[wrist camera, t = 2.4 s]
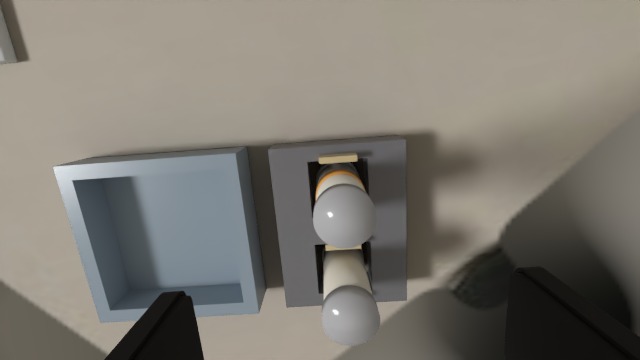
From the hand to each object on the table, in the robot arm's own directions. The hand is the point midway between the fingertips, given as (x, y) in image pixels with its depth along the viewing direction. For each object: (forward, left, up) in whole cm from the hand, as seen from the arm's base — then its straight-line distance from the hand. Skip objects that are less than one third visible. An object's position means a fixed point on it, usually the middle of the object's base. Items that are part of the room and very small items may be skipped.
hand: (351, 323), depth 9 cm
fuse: (0, +5, -15) cm, 16 cm away
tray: (+12, +2, -15) cm, 19 cm away
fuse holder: (0, +2, -15) cm, 15 cm away
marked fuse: (0, -1, -15) cm, 15 cm away
